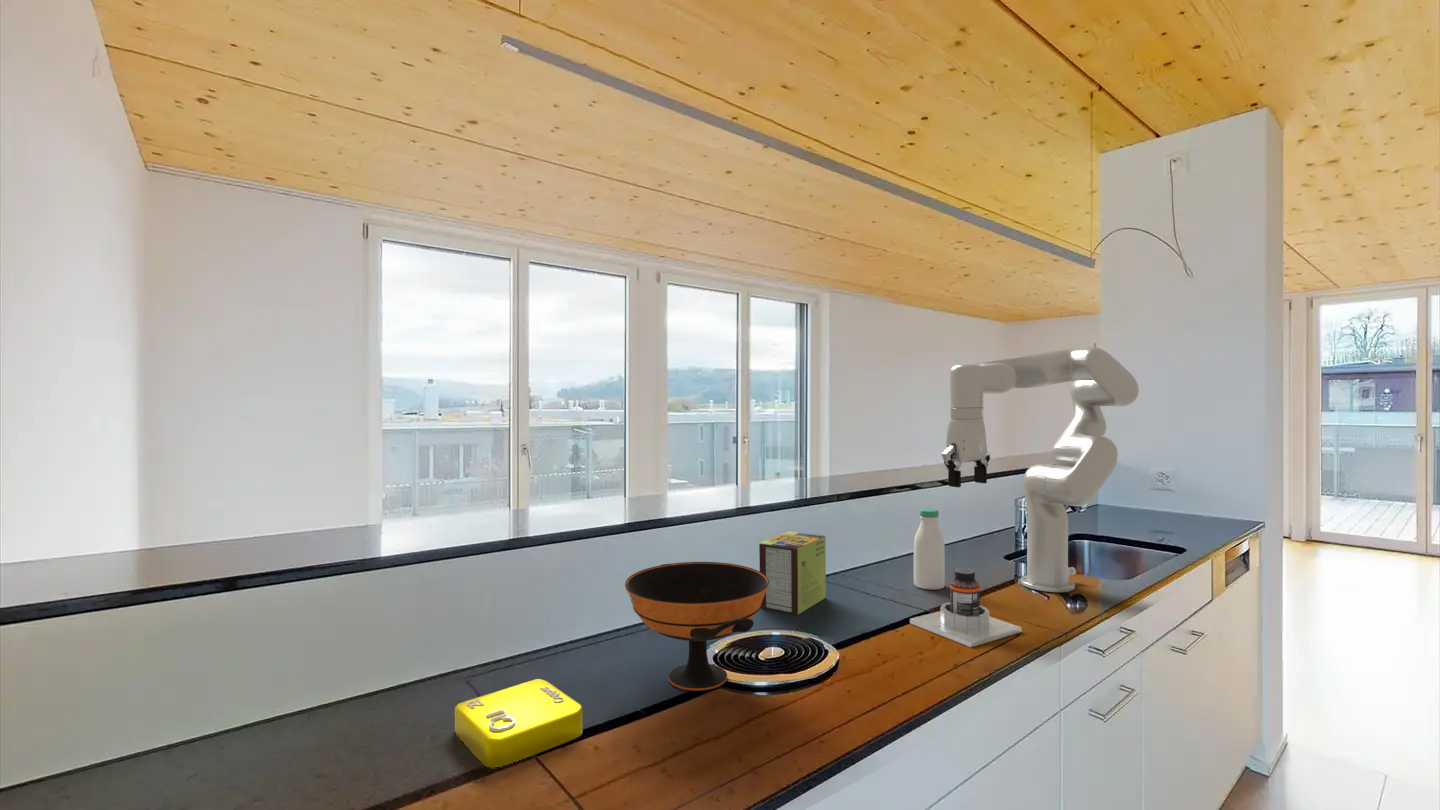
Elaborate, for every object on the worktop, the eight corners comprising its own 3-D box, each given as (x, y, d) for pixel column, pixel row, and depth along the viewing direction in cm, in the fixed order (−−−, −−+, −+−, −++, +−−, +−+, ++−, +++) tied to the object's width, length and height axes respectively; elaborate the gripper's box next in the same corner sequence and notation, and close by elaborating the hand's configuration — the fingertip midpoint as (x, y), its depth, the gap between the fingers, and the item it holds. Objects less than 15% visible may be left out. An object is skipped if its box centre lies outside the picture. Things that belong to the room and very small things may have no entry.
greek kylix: (812, 708, 107) (812, 599, 107) (661, 742, 97) (660, 622, 97) (722, 633, 140) (722, 550, 140) (603, 653, 130) (602, 563, 130)
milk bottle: (948, 590, 169) (948, 512, 169) (918, 590, 169) (918, 512, 169) (939, 581, 177) (939, 506, 176) (910, 581, 177) (910, 507, 177)
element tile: (588, 736, 100) (587, 704, 100) (490, 775, 90) (489, 740, 90) (542, 701, 111) (541, 673, 111) (450, 732, 101) (450, 701, 101)
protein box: (826, 597, 164) (826, 535, 164) (798, 615, 151) (797, 547, 151) (788, 590, 170) (788, 530, 169) (758, 607, 157) (758, 542, 157)
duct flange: (959, 610, 154) (959, 593, 154) (1021, 631, 140) (1021, 613, 140) (909, 623, 146) (909, 605, 146) (970, 647, 132) (970, 627, 132)
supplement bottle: (954, 616, 147) (954, 565, 147) (982, 621, 144) (983, 569, 143) (946, 623, 142) (946, 571, 142) (975, 629, 139) (975, 575, 139)
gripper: (976, 413, 170) (977, 479, 171) (930, 416, 161) (931, 486, 161) (1002, 413, 164) (1003, 483, 164) (956, 417, 155) (957, 490, 155)
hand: (967, 484), depth 163 cm, fingers open, 9 cm apart
